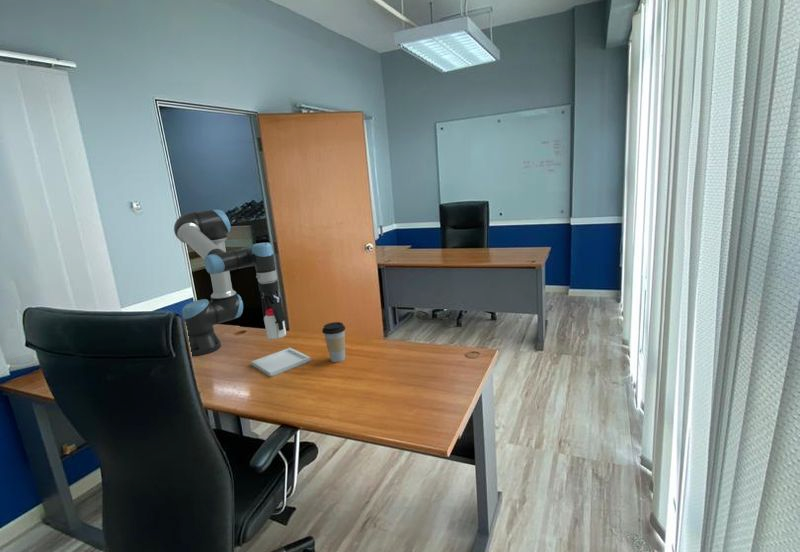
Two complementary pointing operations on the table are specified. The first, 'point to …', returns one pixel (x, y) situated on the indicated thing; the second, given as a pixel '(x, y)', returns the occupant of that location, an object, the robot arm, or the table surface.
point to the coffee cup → (335, 340)
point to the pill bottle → (271, 325)
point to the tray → (280, 361)
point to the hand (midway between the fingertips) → (276, 334)
